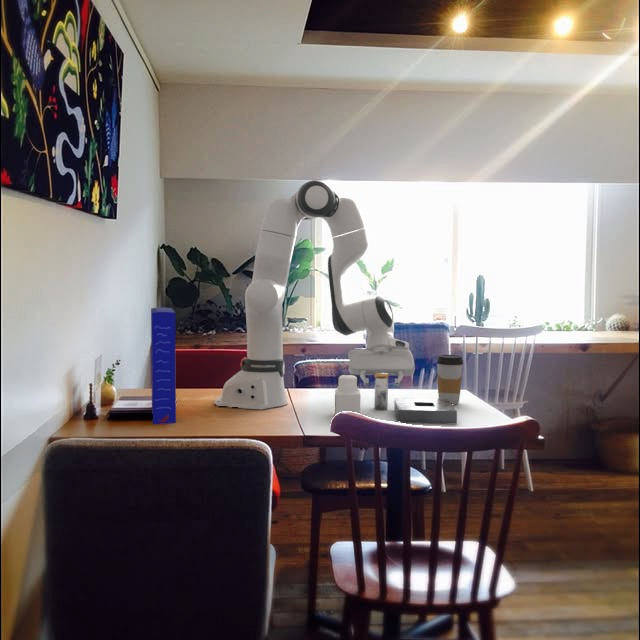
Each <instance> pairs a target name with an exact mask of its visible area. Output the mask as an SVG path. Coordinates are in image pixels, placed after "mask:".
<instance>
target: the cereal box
mask: <svg viewBox="0 0 640 640" xmlns="http://www.w3.org/2000/svg"><path fill="white" fill-rule="evenodd" d="M150 327H151V328H150V330H151V331H150V334H151V335H150V338H151V339H150V341H151V342H150V344H151V345H150V348H151V350H150V351H151V354H150V355H151V360H150V361H151V367H150V368H151V415H152V414H153V419H152V424H153V425H160V424H161V425H163V424H164V425H165V424H176V422H177V417H176V416H177V412H176V409H177V407H176V405H177V404H176V403H177V401H176V398H177V396H176V393H177V391H176V389H177V388H176V383H177V382H176V379H177V378H176V376H177V375H176V374H177V373H176V370H177V369H176V365H177V364H176V362H177V361H176V356H177V355H176V312H175V311H174V309H173V308H172V307H151V308H150Z"/></svg>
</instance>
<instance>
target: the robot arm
mask: <svg viewBox="0 0 640 640" xmlns="http://www.w3.org/2000/svg"><path fill="white" fill-rule="evenodd" d="M315 219H323V220H324V221H325V222H326V223H327V225H328V227H329V230H330V234H331V238H332V244H333V247H332V252H331V254H330V255H329V256H328V259H327V270H328V271H327V273H328V282H329V283H328V284H329V291H330V292H329V293H330V301H331V302H330V303H331V319H332V326H333V328H334V330H335V332H338V333H339V334H341V335H343V336H349V335H352V334H355V333H358V332H361V331H366V332H367V333H366V334H367V340H366V348H364V347H361V348H358V347H354V348H352V349H350V350H348V352H347V358H348V359H349V361H348V373H349V374H354V375H357V376H360V379H361V380H362V382H363V386H365V387H366V386H369V385H370V384H369V383H370V382H369V379H370V378H369V377H366V376H375V372H388V376H397V378H394V387H400V386H401V381H402V380H403V379H404V376H405V377H407V376H409V377H410V376H413V375H414V373H415V370H416V369H415V368H416V367H415V360H414V355H413V353H412V351H411V350H410V343H409V342H407V341H405V340H404V341H403V340H400V339H397V338H395V337H394V335H395V334H394V333H395V325H394V324H395V323H394V313H393V309H392V306H391V305H390V302H389V301H387V300H386V299H385V298H383V297H382V296H379V295H373V296H371V297H370V296H369V297H366V298H363V299H358V300H355V301H350V302H347V300H346V295H345V284H344V276H345V273H346V271H347V270H348V269H349V268H350V267H351V266H352V265H354V264H355V263H357V262H359V260H361V259H362V258H363V256H365V255H366V254H367V251H368V250H369V246H370V237H369V232H368V228H367V225H366V222H365V219H364V216H363V213H362V211H361V209H360V207H359V204H358V203H357V200H355V198H353V197H350V196H340V197H339V196H338V194H337V193H335V191H334V190H333V189H332V188H331V187H330V186H329V185H328V184H326V183H325V182H323V181H321V180H309V181H307V182H306V183H303V184H302V185H301V186H300V187H299V188H297V191H295V193H294V194H293V195H292V196H291V197H290V198H287V197H275V198H274V199H271V201H270V202H269V203H268V206H267V208H266V211H265V213H264V216H263V219H262V223H261V227H260V231H259V236H258V242H257V245H256V249H255V256H254V264H253V265H254V266H253V272H252V273H253V274H252V278H251V283H250V284H249V285H248V286H247V287H246V290H245V294H244V301H245V302H244V304H245V306H244V307H245V320H246V324H245V325H246V335H247V336H246V346H247V347H246V356H247V357H243V358H242V359H241V361H240V369H241V370H239V371H238V372H236V373H235V374H234V375H233V376H231V377H230V378H229V379H228V380H226V382H225V383H224V385H223V388H222V392H221V396H219V397H217V398H215V400H214V405H215V404H216V405H217V406H216V407H218V406H228V407H227V408H232V407H238V408H237V409H246V410H247V409H249V410H266V409H270V408H271V409H272V408H278V407H283V406H285V405H287V404H288V399H287V395H286V389H285V382H284V376H285V368H286V367H285V358H284V355H283V354H284V353H283V352H284V351H283V350H284V347H283V346H284V329H283V327H284V325H283V324H284V323H283V303H284V301H285V295H286V290H287V286H288V279H289V274H290V268H291V263H292V258H293V254H294V248H295V244H296V238H297V233H298V229H299V226H300V224H301V222H302V221H303V220H306V221H307V220H315Z"/></svg>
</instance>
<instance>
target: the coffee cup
mask: <svg viewBox="0 0 640 640" xmlns="http://www.w3.org/2000/svg"><path fill="white" fill-rule="evenodd" d="M463 365H464V359H463V356H461V355H458V354H440V355H438V356H437V358H436V367H437V373H436V374H437V376H436V377H437V393H438V399H448V400H449V401H450V402H451V404H456V405H458V404H459V402H460V397H461V390H462V377H463V374H462V373H463V368H464V367H463ZM457 403H458V404H457Z"/></svg>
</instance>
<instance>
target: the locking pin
mask: <svg viewBox="0 0 640 640" xmlns="http://www.w3.org/2000/svg"><path fill="white" fill-rule="evenodd" d="M388 396H389V375H388V372H375V375H374V405H373V407H374V408H373V409H374V410H377V411H386V410H388V407H389V406H388V405H389V404H388V402H389V401H388V400H389V399H388V398H389V397H388Z"/></svg>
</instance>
